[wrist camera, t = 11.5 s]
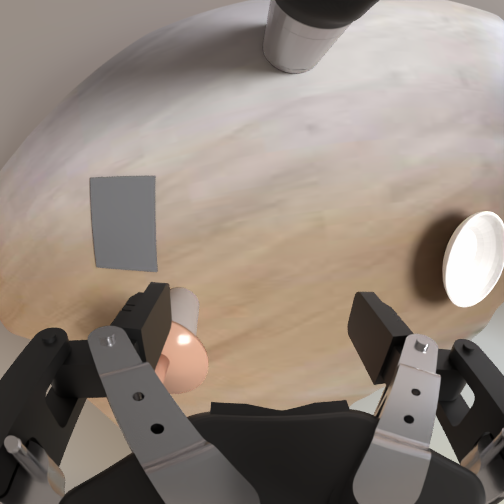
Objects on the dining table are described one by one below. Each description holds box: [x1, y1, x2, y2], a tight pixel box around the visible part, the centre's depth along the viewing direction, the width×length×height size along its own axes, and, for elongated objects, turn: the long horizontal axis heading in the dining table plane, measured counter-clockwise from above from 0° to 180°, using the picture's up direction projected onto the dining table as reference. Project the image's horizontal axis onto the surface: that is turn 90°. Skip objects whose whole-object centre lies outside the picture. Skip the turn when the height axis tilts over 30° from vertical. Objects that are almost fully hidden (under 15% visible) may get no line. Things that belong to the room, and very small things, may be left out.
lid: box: [155, 321, 209, 394], centre depth 31 cm, size 13×13×7 cm
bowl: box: [442, 211, 504, 307], centre depth 44 cm, size 20×20×7 cm
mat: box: [90, 176, 158, 272], centre depth 44 cm, size 16×12×1 cm
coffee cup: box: [170, 287, 199, 336], centre depth 42 cm, size 10×10×15 cm
